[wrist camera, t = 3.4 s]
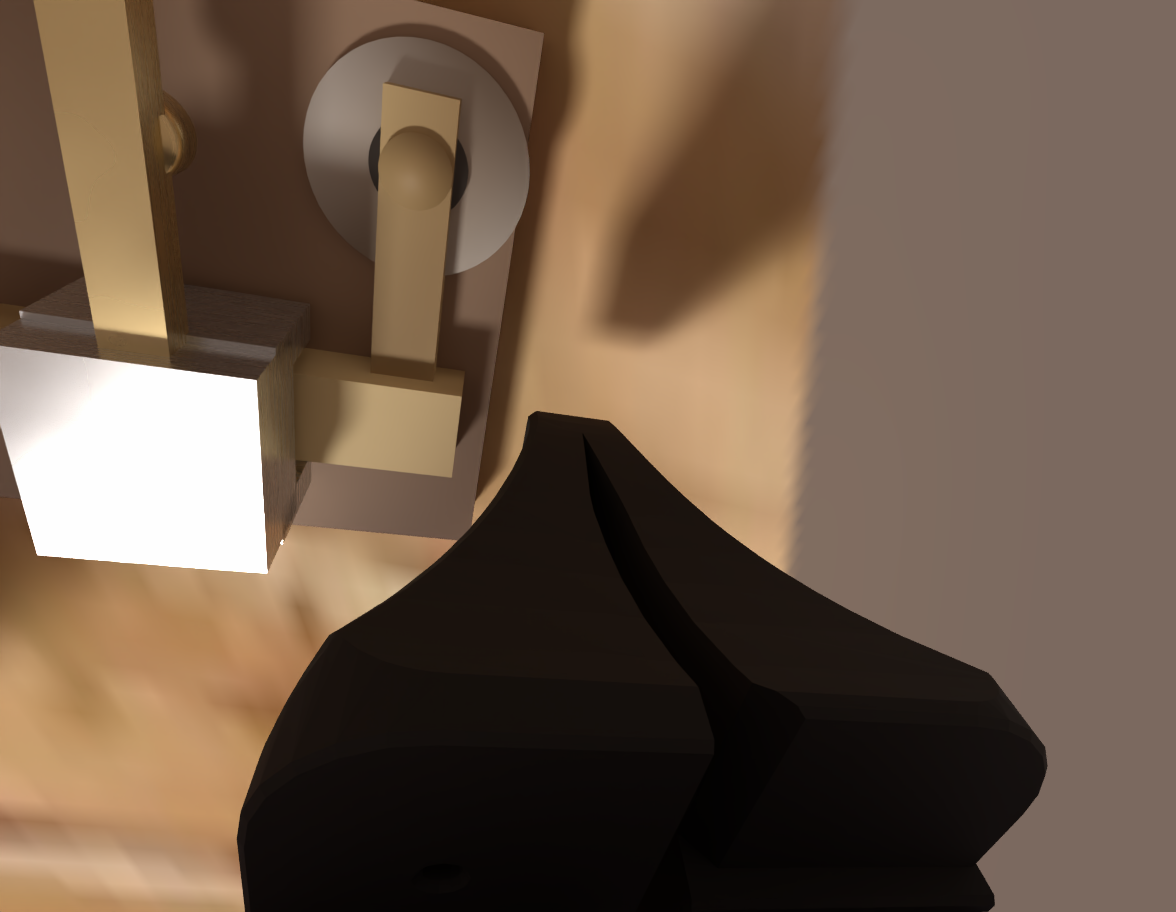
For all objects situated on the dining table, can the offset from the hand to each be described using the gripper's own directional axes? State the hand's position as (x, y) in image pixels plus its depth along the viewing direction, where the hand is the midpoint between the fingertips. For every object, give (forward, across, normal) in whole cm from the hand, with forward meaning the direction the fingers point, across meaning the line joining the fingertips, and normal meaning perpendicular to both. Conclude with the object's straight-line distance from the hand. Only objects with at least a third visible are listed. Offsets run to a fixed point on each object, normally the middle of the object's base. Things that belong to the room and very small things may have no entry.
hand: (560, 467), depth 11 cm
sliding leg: (+1, +6, -2) cm, 6 cm away
